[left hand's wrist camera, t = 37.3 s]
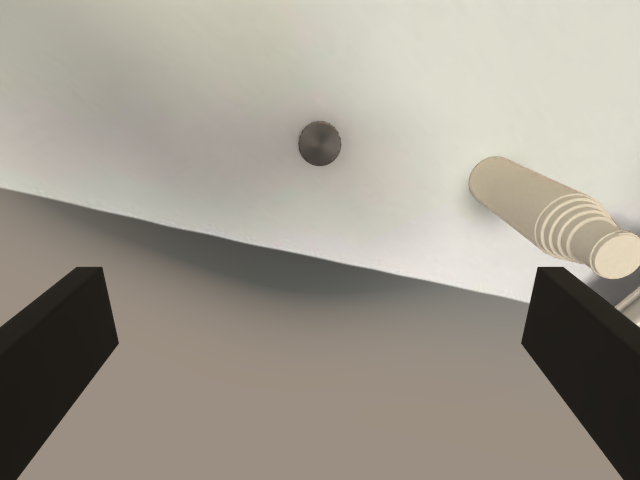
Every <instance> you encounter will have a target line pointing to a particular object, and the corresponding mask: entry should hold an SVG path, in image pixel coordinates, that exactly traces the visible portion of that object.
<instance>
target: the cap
mask: <svg viewBox="0 0 640 480" xmlns="http://www.w3.org/2000/svg"><path fill="white" fill-rule="evenodd" d="M340 140H341V139H340V137H339V134H338V131H336V129H335V128H334V127H333V126H332V125H330V123H329V124H328V123H326V122H324V121H323V122H318V121H317V122H314V123H311V124H309V125H308V126H306V128H305V129H304V130H303V131H302V134H301V135H300V140H299V150H300V153H301V155H302V156H303V158H304V159H305V160H306V161H307V162H309V163H310V164H312V165H316V166H324V165H327V164H329V163H331V162H333V161H334V160H335V159H336V157H337V156H338V154H339V152H340V148H341V142H340Z"/></svg>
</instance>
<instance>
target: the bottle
mask: <svg viewBox="0 0 640 480" xmlns="http://www.w3.org/2000/svg"><path fill="white" fill-rule="evenodd" d="M469 187H470V191H471V193H472V195H473V196H474V197H475V198H476V199H477V200H479V201H480V202H481V203H482V204H484V205H485V206H486V207H487V208H489V209H490V210H491V211H493V212H494V213H495V214H496V215H498V216H499V217H500V218H501V219H503V220H504V221H505V222H507V223H508V224H509V225H510V226H512V227H513V228H514V229H515V230H517V231H518V232H519V233H520V234H522V235H523V236H524V237H526V238H527V239H528V240H529V241H531V242H532V243H533V244H534V245H536V246H537V247H538V248H539V249H541V250H542V251H543V252H545V253H546V254H548V255H551V256H553V257H555V258H558V259H563V260H566V261H572V262H577V263H580V264H586V265H587V266H588V267H590V268H591V269H592V270H593V271H594V273H596V274H597V275H599V276H601V277H604V278H608V279H619V278H623V277H625V276H627V275H629V274H631V273H632V272H634V271H635V270H636V269H637V268H638V267H639V266H640V238H639V237H638V236H637V235H635V234H633V233H631V232H628V231H624V230H622V229H620V228H618V227H617V225H616V224H615V222H614V221H613V220H612V218H611V217H610V216H609V214H608V213H607V212H606V211H605V209H604V208H603V206H602V205H601V204H600V203H598V202H597V201H596V200H595V199H593V198H592V197H590V196H588V195H585V194H583V193H581V192H579V191H577V190H574V189H572V188H570V187H568V186H565V185H563V184H561V183H559V182H557V181H554V180H552V179H550V178H548V177H545V176H543V175H541V174H539V173H536V172H534V171H532V170H530V169H528V168H525V167H523V166H521V165H519V164H516V163H514V162H512V161H510V160H508V159H505V158H502V157H491V158H487V159H485V160H483V161H482V162H480V163H479V164H478V165H477V166H476V167H475V168H474V170H473V171H472V173H471V176H470V179H469Z"/></svg>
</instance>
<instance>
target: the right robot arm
mask: <svg viewBox="0 0 640 480" xmlns="http://www.w3.org/2000/svg"><path fill="white" fill-rule="evenodd" d="M615 308H616V309H617V310H618V311H620V312H621V313H622V314H624V315H625V316H626V317H627V318H629V319H630V320H631V321H632V322H634V323H635V324H636V325H637V326H639V327H640V286H639V287H638V288H637V289H636V290H635V291H633V292H632V293H631V294H630V295H628V296H627V297H626V298H625V299H624V300H622V301H621V302H620V303H619V304H617V305H616V306H615Z"/></svg>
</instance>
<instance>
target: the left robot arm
mask: <svg viewBox="0 0 640 480" xmlns="http://www.w3.org/2000/svg"><path fill="white" fill-rule="evenodd" d="M118 344H119V342H118V337H117V333H116V328H115V323H114V319H113V314H112V310H111V305H110V301H109V296H108V291H107V287H106V282H105V278H104V273H103V268H102V267H76V268H75V269H74V270H72V271H71V272H70V273H69V274H67V275H66V276H65V277H63V278H62V279H61V280H60V281H58V282H57V283H56V284H55V285H53V286H52V287H51V288H49V289H48V290H47V291H46V292H44V293H43V294H42V295H41V296H39V297H38V298H37V299H36V300H34V301H33V302H32V303H30V304H29V305H28V306H27V307H25V308H24V309H23V310H22V311H20V312H19V313H18V314H17V315H15V316H14V317H13V318H11V319H10V320H9V321H8V322H6V323H5V324H4V325H3V326H1V327H0V480H17V478H18V477H19V476H20V474H21V473H22V472H23V470H24V469H25V468H26V466H27V465H28V464H29V462H30V461H31V460H32V458H33V457H34V456H35V454H36V453H37V452H38V450H39V449H40V448H41V446H42V445H43V444H44V442H45V441H46V440H47V438H48V437H49V436H50V434H51V433H52V432H53V430H54V429H55V428H56V426H57V425H58V424H59V422H60V421H61V420H62V418H63V417H64V416H65V414H66V413H67V412H68V410H69V409H70V408H71V406H72V405H73V404H74V402H75V401H76V400H77V398H78V397H79V396H80V394H81V393H82V392H83V390H84V389H85V388H86V386H87V385H88V384H89V382H90V381H91V380H92V378H93V377H94V376H95V374H96V373H97V372H98V370H99V369H100V368H101V366H102V365H103V364H104V362H105V361H106V360H107V358H108V357H109V356H110V354H111V353H112V352H113V350H114V349H115V348H116V346H117V345H118ZM521 344H522V345H523V346H524V348H525V349H526V350H527V352H528V353H529V354H530V356H531V357H532V358H533V360H534V361H535V362H536V364H537V365H538V366H539V368H540V369H541V370H542V372H543V373H544V374H545V376H546V377H547V378H548V380H549V381H550V382H551V384H552V385H553V386H554V388H555V389H556V390H557V392H558V393H559V394H560V396H561V397H562V398H563V400H564V401H565V402H566V404H567V405H568V406H569V408H570V409H571V410H572V412H573V413H574V414H575V416H576V417H577V418H578V420H579V421H580V422H581V424H582V425H583V426H584V428H585V429H586V430H587V432H588V433H589V434H590V436H591V437H592V438H593V440H594V441H595V442H596V444H597V445H598V446H599V448H600V449H601V450H602V452H603V453H604V454H605V456H606V457H607V458H608V460H609V461H610V462H611V464H612V465H613V466H614V468H615V469H616V470H617V472H618V473H619V474H620V476H621V477H622V478H623V480H640V327H639V326H637V325H636V324H635V323H634V322H632V321H631V320H630V319H629V318H627V317H626V316H625V315H624V314H622V313H621V312H620V311H618V310H617V309H616V308H615V307H613V306H612V305H611V304H610V303H608V302H607V301H606V300H604V299H603V298H602V297H601V296H599V295H598V294H597V293H596V292H594V291H593V290H592V289H591V288H589V287H588V286H587V285H585V284H584V283H583V282H582V281H580V280H579V279H578V278H577V277H575V276H574V275H573V274H572V273H570V272H569V271H568V270H566V269H565V268H564V267H538V268H537V273H536V277H535V282H534V287H533V291H532V296H531V300H530V305H529V310H528V314H527V319H526V323H525V328H524V333H523V337H522V342H521Z"/></svg>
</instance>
